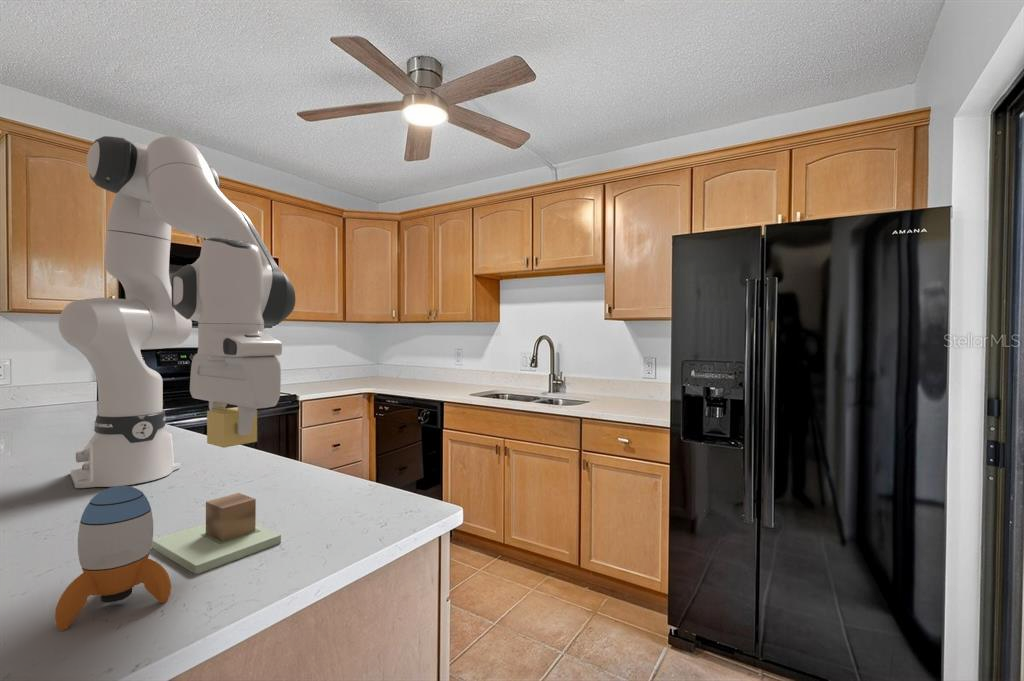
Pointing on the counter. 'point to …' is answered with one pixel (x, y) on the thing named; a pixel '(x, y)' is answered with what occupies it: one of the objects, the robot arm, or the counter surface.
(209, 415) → the ochre block
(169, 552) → the plate
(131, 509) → the toy rocket
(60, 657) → the counter surface
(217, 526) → the walnut block
